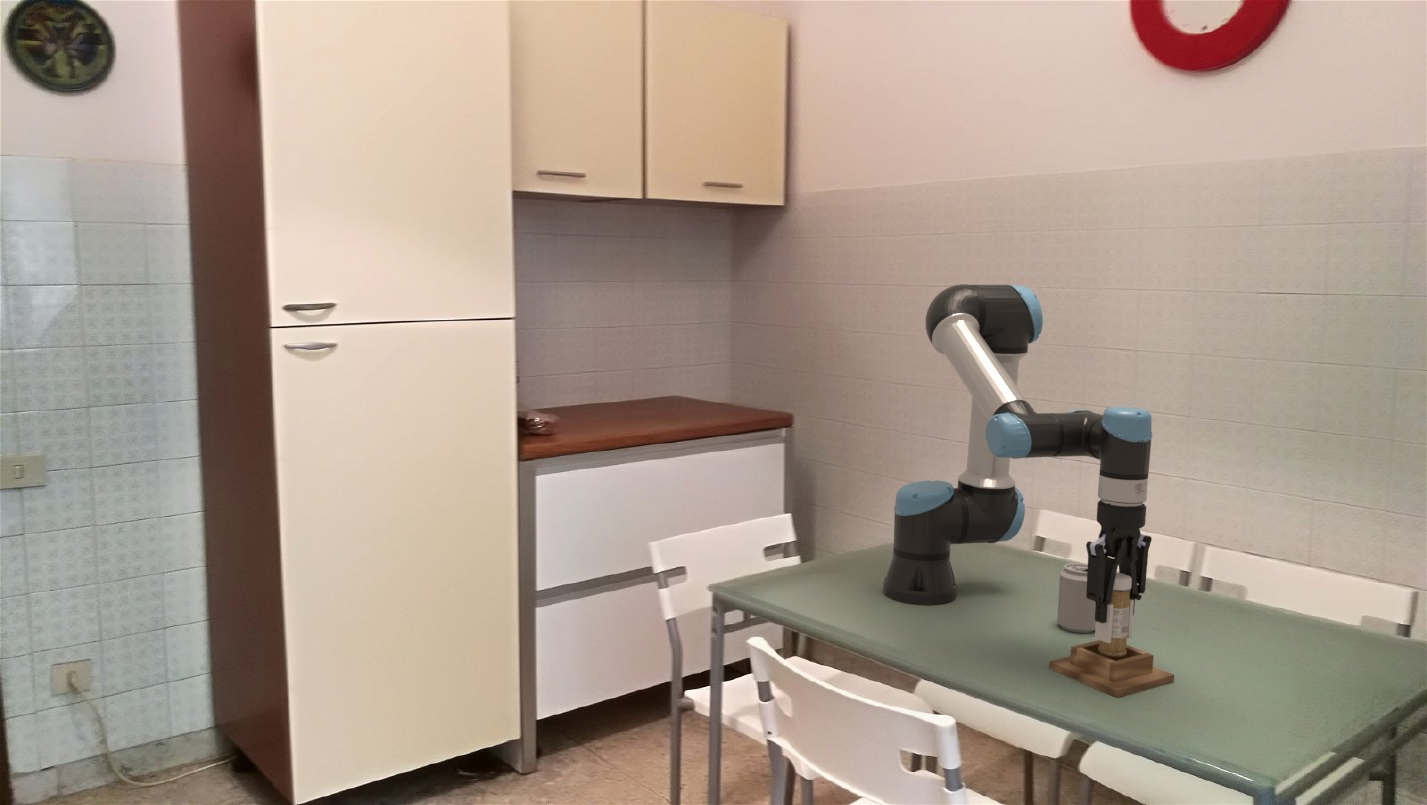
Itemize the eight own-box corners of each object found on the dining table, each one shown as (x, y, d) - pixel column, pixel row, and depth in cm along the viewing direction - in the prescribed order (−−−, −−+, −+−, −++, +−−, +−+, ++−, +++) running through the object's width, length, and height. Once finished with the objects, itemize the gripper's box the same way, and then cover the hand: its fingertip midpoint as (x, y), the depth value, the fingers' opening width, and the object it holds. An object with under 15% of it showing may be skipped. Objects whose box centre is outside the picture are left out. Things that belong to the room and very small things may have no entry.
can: (1101, 635, 193) (1105, 573, 192) (1059, 632, 195) (1063, 570, 193) (1094, 622, 200) (1098, 562, 199) (1054, 619, 202) (1058, 559, 200)
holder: (1048, 668, 177) (1050, 644, 176) (1104, 654, 184) (1105, 631, 183) (1117, 697, 165) (1118, 672, 164) (1173, 681, 172) (1175, 657, 171)
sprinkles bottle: (1111, 646, 177) (1116, 570, 175) (1132, 655, 173) (1138, 577, 171) (1091, 650, 175) (1096, 573, 173) (1112, 659, 171) (1117, 580, 169)
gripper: (1105, 511, 163) (1096, 653, 166) (1176, 500, 172) (1166, 636, 174) (1067, 502, 169) (1059, 639, 172) (1137, 492, 178) (1128, 623, 181)
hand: (1113, 637), depth 173 cm, fingers closed on sprinkles bottle, 4 cm apart
